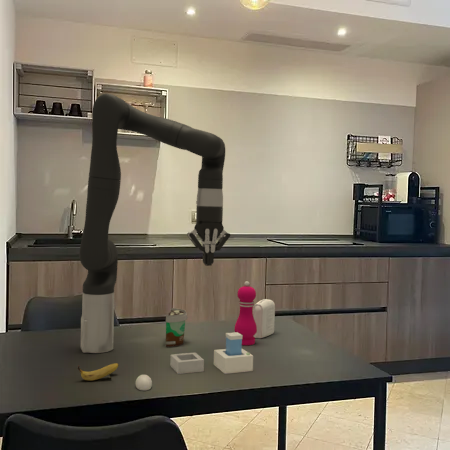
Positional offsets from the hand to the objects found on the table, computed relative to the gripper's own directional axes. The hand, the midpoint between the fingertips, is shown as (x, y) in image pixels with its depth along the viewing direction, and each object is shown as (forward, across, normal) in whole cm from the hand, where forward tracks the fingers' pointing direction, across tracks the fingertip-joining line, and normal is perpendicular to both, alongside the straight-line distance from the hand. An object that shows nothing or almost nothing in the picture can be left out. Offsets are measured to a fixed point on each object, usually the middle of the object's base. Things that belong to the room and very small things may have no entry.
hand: (208, 265), depth 152 cm
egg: (+27, -23, -20) cm, 41 cm away
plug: (+26, +3, -13) cm, 29 cm away
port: (+27, +3, -13) cm, 30 cm away
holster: (+27, -9, -10) cm, 30 cm away
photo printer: (+27, +28, +19) cm, 43 cm away
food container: (+27, -3, +18) cm, 33 cm away
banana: (+27, -32, -9) cm, 43 cm away
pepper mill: (+27, +18, +12) cm, 35 cm away
